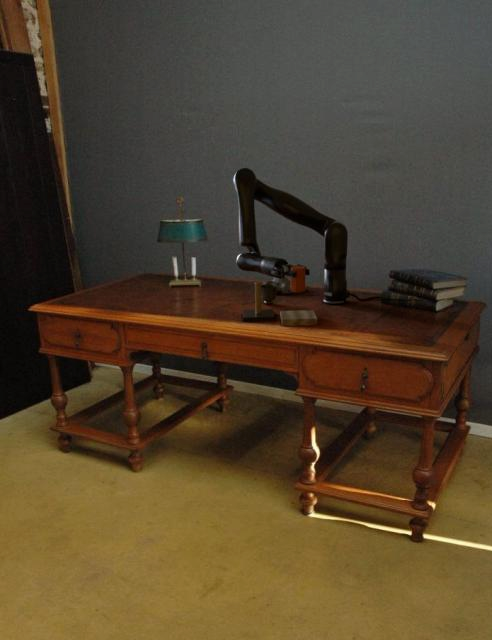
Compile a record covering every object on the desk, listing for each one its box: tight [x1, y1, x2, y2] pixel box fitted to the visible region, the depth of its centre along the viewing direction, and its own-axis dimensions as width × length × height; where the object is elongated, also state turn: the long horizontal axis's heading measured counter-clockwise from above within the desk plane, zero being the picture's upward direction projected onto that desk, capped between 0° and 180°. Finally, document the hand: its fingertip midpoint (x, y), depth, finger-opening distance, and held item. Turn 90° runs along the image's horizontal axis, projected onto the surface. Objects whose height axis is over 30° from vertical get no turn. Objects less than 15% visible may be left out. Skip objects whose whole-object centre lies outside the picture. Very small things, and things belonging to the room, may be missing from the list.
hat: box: [287, 265, 310, 295], centre depth 246 cm, size 8×8×9 cm
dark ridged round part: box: [261, 283, 277, 306], centre depth 277 cm, size 8×7×8 cm
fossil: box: [262, 277, 291, 295], centre depth 301 cm, size 18×11×15 cm
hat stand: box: [242, 281, 276, 322], centre depth 256 cm, size 12×12×14 cm
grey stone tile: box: [279, 309, 318, 327], centre depth 251 cm, size 13×13×2 cm
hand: (302, 273), depth 243 cm, fingers closed on hat, 5 cm apart
